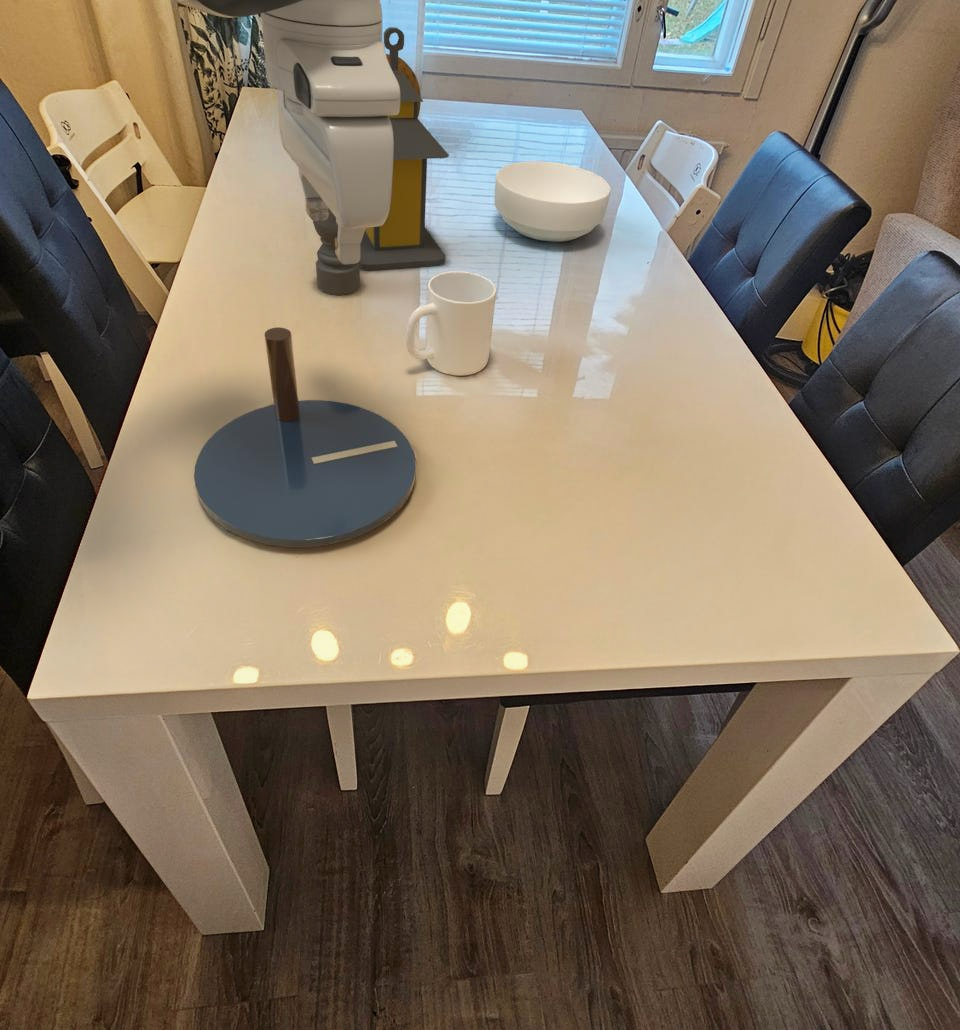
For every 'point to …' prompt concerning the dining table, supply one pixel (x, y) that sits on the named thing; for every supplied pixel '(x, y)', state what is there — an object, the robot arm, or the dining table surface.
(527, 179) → the bowl
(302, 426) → the blue disc with peg
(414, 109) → the lantern
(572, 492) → the dining table surface
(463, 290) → the cup
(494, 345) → the dining table surface
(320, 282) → the candle holder
